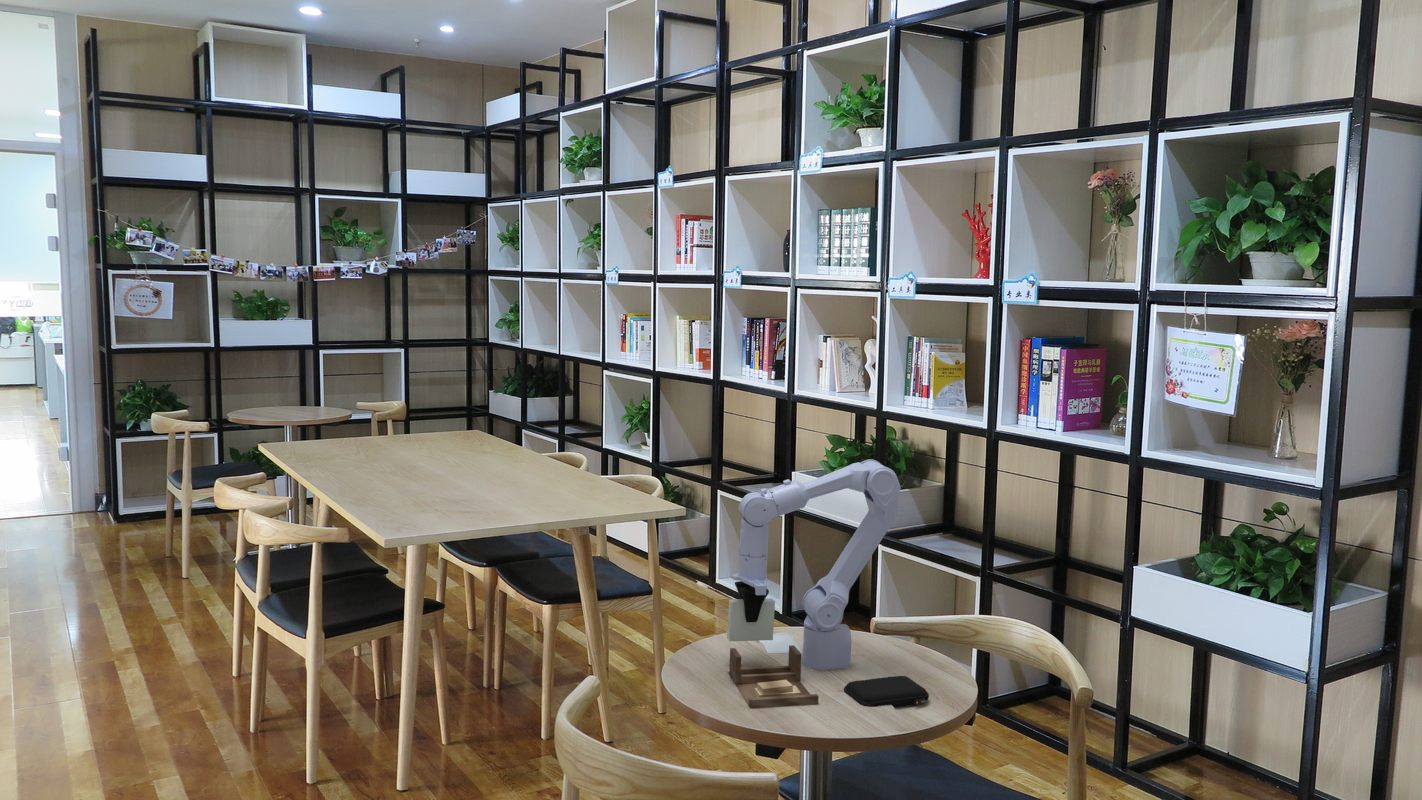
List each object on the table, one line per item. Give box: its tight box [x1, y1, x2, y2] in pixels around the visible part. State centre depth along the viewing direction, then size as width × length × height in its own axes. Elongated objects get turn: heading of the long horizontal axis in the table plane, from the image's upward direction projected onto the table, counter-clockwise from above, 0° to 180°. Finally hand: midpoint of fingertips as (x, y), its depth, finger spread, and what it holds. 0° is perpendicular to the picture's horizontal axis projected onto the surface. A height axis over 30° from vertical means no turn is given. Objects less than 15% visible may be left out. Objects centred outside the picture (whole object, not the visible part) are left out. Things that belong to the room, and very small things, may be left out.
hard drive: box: [755, 632, 803, 654], centre depth 229 cm, size 2×8×12 cm
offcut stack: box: [754, 680, 801, 698], centre depth 200 cm, size 8×4×2 cm, turn 103°
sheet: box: [726, 598, 776, 642], centre depth 215 cm, size 9×2×8 cm, turn 103°
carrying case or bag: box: [843, 675, 930, 708], centre depth 203 cm, size 11×3×15 cm
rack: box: [726, 645, 820, 709], centre depth 204 cm, size 13×18×6 cm
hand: (749, 619), depth 215 cm, fingers closed on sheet, 2 cm apart
